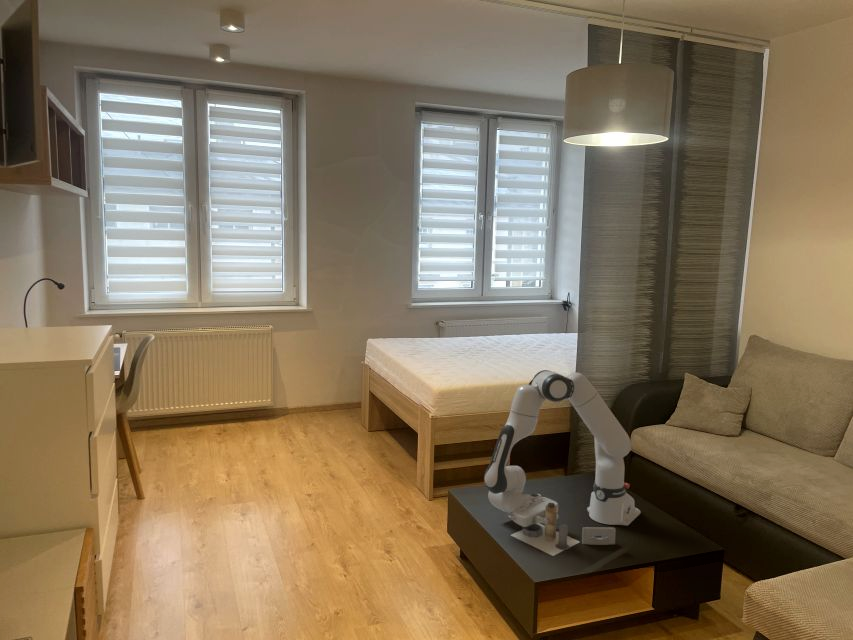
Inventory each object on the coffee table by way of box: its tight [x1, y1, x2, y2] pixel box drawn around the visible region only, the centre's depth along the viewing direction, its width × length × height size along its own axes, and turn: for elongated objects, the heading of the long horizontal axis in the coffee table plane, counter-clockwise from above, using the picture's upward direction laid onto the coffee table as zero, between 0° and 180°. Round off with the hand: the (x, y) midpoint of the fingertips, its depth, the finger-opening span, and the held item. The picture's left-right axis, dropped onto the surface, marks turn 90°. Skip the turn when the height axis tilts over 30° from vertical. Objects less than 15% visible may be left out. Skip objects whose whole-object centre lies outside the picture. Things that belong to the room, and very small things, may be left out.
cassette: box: [581, 526, 617, 546], centre depth 236 cm, size 12×2×8 cm, turn 90°
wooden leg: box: [544, 503, 558, 540], centre depth 237 cm, size 4×4×13 cm
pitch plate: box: [510, 522, 581, 557], centre depth 239 cm, size 16×20×10 cm
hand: (552, 519), depth 236 cm, fingers closed on wooden leg, 4 cm apart
